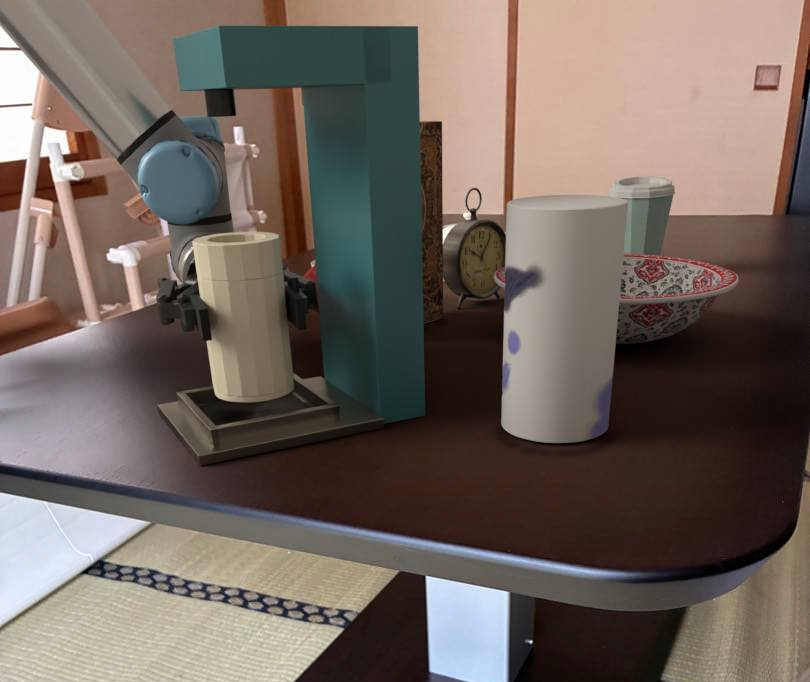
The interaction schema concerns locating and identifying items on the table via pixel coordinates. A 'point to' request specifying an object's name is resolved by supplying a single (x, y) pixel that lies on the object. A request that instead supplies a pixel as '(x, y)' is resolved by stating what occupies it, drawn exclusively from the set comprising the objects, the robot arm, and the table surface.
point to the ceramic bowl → (662, 294)
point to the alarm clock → (473, 256)
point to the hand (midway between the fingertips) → (254, 319)
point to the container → (561, 315)
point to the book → (432, 219)
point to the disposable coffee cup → (645, 212)
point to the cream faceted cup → (245, 315)
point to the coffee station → (330, 229)
